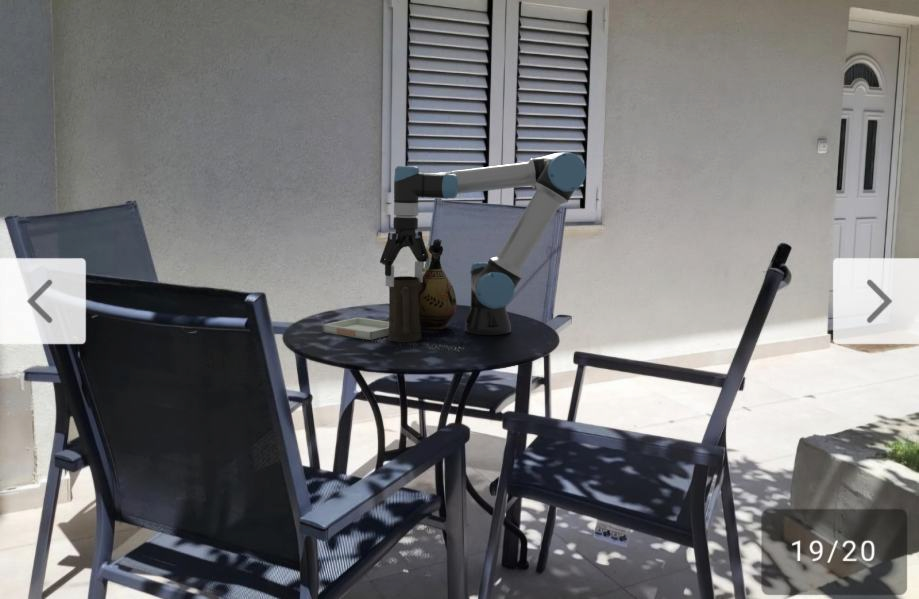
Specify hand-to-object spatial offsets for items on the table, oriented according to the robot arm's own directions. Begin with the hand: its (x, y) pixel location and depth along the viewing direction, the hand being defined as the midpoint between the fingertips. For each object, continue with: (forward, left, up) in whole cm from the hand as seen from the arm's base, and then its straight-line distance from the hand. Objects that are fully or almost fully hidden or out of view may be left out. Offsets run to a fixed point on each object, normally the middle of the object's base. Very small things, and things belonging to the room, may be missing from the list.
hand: (404, 284), depth 265 cm
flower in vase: (-44, -27, -18) cm, 55 cm away
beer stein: (0, +1, -18) cm, 18 cm away
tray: (-2, -19, -18) cm, 26 cm away
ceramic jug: (-23, -6, -18) cm, 30 cm away
